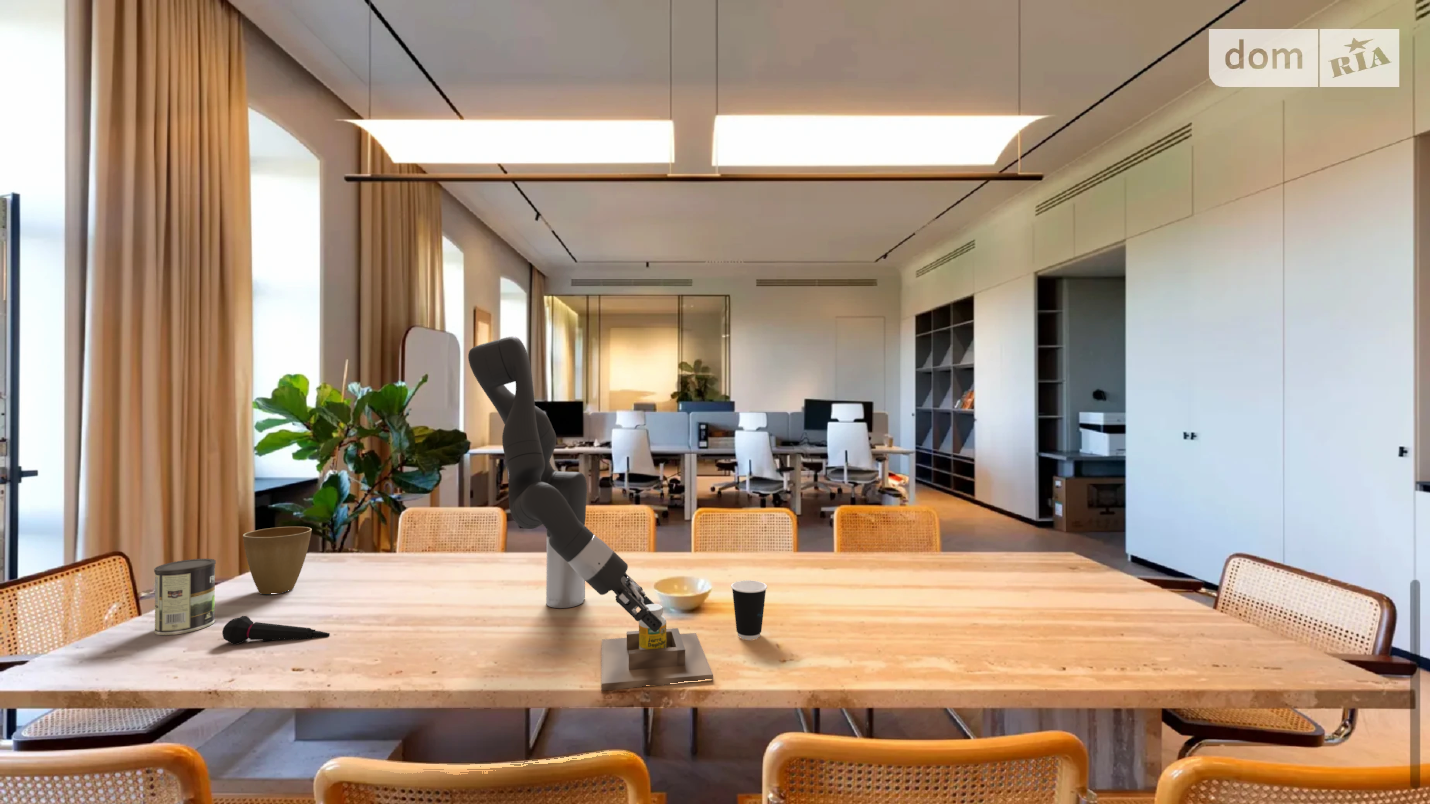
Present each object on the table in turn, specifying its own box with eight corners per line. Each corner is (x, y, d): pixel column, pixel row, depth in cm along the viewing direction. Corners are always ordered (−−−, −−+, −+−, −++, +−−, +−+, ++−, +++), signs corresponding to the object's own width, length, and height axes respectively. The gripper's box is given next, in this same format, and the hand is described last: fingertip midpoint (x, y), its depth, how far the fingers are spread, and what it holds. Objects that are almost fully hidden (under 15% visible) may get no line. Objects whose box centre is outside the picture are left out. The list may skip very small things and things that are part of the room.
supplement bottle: (658, 648, 119) (658, 600, 119) (671, 657, 114) (671, 608, 114) (634, 654, 116) (634, 605, 116) (646, 664, 111) (646, 613, 111)
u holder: (601, 690, 104) (601, 666, 104) (601, 645, 123) (601, 625, 123) (713, 681, 107) (713, 657, 107) (695, 638, 127) (696, 619, 127)
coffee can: (211, 615, 140) (212, 555, 140) (218, 626, 133) (218, 563, 133) (151, 627, 132) (152, 564, 132) (155, 639, 125) (156, 573, 125)
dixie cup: (771, 641, 126) (772, 589, 126) (736, 644, 124) (736, 592, 124) (760, 627, 133) (760, 579, 133) (726, 630, 132) (727, 581, 132)
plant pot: (284, 600, 151) (285, 537, 151) (227, 599, 151) (227, 537, 151) (323, 582, 166) (324, 525, 166) (271, 582, 166) (272, 525, 166)
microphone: (330, 648, 129) (227, 643, 125) (337, 620, 131) (236, 614, 127) (320, 650, 124) (212, 645, 120) (328, 621, 126) (222, 615, 122)
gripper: (612, 559, 107) (675, 618, 109) (611, 541, 121) (666, 594, 123) (582, 590, 106) (646, 649, 108) (584, 568, 120) (640, 621, 122)
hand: (656, 619), depth 116 cm, fingers open, 8 cm apart
